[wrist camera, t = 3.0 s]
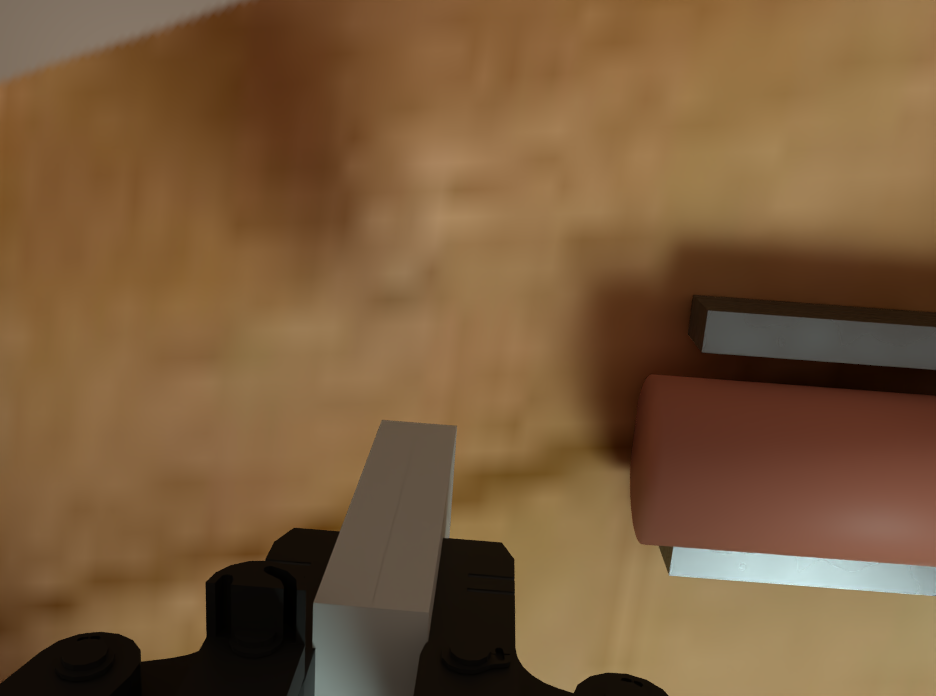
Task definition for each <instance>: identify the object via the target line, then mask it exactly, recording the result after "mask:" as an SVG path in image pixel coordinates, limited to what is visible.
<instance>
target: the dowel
mask: <svg viewBox="0 0 936 696" xmlns="http://www.w3.org/2000/svg"><path fill="white" fill-rule="evenodd" d="M630 497H631V511H632V520H633V526H634V530H635V534H636V537H637V539H638V541H639V543H641V544H644V545H657V546H670V547H683V548H696V549H709V550H722V551H735V552H748V553H761V554H774V555H787V556H800V557H813V558H826V559H839V560H852V561H865V562H878V563H891V564H904V565H917V566H930V567H936V395H923V394H909V393H896V392H882V391H869V390H856V389H842V388H829V387H815V386H802V385H789V384H775V383H762V382H749V381H735V380H722V379H708V378H695V377H682V376H668V375H655V374H650V375H649V376H648V377H647V378H646V380H645V381H644V384H643V386H642V389H641V392H640V396H639V400H638V406H637V413H636V421H635V429H634V437H633V445H632V452H631V464H630Z"/></svg>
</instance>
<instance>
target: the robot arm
mask: <svg viewBox="0 0 936 696" xmlns="http://www.w3.org/2000/svg"><path fill="white" fill-rule="evenodd" d="M456 432H457V426H452V425H439V424H426V423H414V422H401V421H389V420H382V421H381V424H380V426H379V429H378V432H377V434H376V437H375V440H374V442H373V445H372V448H371V450H370V453H369V456H368V458H367V461H366V464H365V466H364V469H363V472H362V474H361V477H360V480H359V482H358V485H357V488H356V490H355V493H354V496H353V498H352V501H351V504H350V506H349V509H348V512H347V514H346V517H345V520H344V522H343V525H342V528H341V530H340V532H339V531H327V530H315V529H302V528H293V529H292V530H290V531H289V532H288V533H286V534H285V535H283V536H282V537H280V538H279V539H278V540H276V541H275V542H274V543H273V545H272V547H271V549H270V551H269V553H268V555H267V557H266V561H248V562H243V563H239V564H234V565H230V566H228V567H226V568H224V569H222V570H220V571H218V572H216V573H215V574H214V575H213V576H212V577H211V578H210V579H209V580H208V581H207V582H206V630H207V637H206V639H205V641H204V643H203V645H202V646H201V648H200V650H199V651H198V652H195V653H192V654H189V655H185V656H180V657H175V658H168V659H160V660H152V661H144V662H141V651H140V649H139V648H138V646H137V645H136V644H135V642H134V641H133V640H131V639H129V638H127V637H124V636H122V635H120V634H114V633H105V632H93V633H85V634H79V635H75V636H72V637H69V638H66V639H63V640H60V641H58V642H56V643H54V644H53V645H51V646H49V647H48V648H46V649H44V650H43V651H41V652H40V653H38V654H37V655H36V656H35V657H33V658H32V659H31V660H30V661H28V662H27V663H26V664H25V665H23V666H22V667H21V668H20V669H18V670H17V671H16V672H15V673H13V674H12V675H11V676H10V677H8V678H7V679H6V680H5V681H3V682H2V683H1V684H0V696H668V695H667V693H666V692H665V691H664V690H663V689H661V688H659V687H658V686H656V685H654V684H653V683H651V682H649V681H647V680H645V679H642V678H639V677H635V676H632V675H629V674H620V673H604V674H599V675H594V676H590V677H589V678H587V679H586V680H584V681H583V682H581V683H580V684H578V685H577V687H576V690H575V692H574V693H571V692H568V691H565V690H561V689H558V688H556V687H553V686H551V685H548V684H546V683H544V682H542V681H540V680H539V679H537V678H535V677H534V676H532V675H531V674H530V673H529V672H528V671H527V670H526V669H525V668H524V667H523V666H522V664H521V663H520V661H519V659H518V657H517V654H516V649H515V595H514V594H515V581H514V558H513V557H512V556H511V554H510V553H509V552H508V550H507V549H506V548H505V546H504V545H503V544H502V543H500V542H488V541H475V540H463V539H451V538H449V534H450V519H451V505H452V490H453V476H454V461H455V447H456Z"/></svg>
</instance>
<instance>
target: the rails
mask: <svg viewBox="0 0 936 696" xmlns="http://www.w3.org/2000/svg"><path fill="white" fill-rule="evenodd" d="M688 335H689V337H690V338H691V339H692V340H693V342H694V343H695V344H696V346H697V347H698V348H699V349H700V351H701V352H702V353H716V354H729V355H742V356H756V357H769V358H783V359H796V360H810V361H823V362H837V363H850V364H864V365H877V366H891V367H904V368H918V369H931V370H936V313H932V312H919V311H905V310H892V309H878V308H864V307H851V306H837V305H823V304H810V303H796V302H783V301H769V300H755V299H742V298H728V297H715V296H701V295H693V301H692V308H691V315H690V322H689V329H688ZM659 548H660V551H661V554H662V557H663V560H664V563H665V565H666V568H667V571H668V574H669V575H670V576H683V577H696V578H709V579H722V580H735V581H748V582H761V583H774V584H787V585H800V586H813V587H826V588H839V589H852V590H865V591H878V592H891V593H903V594H916V595H929V596H936V567H930V566H917V565H904V564H891V563H878V562H865V561H852V560H839V559H826V558H813V557H800V556H787V555H774V554H761V553H748V552H735V551H722V550H709V549H696V548H683V547H670V546H659Z"/></svg>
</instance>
